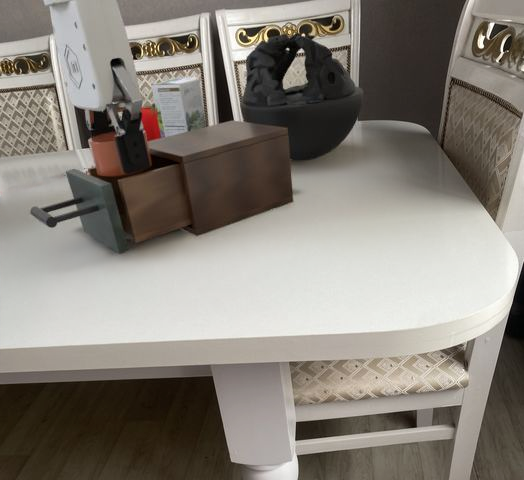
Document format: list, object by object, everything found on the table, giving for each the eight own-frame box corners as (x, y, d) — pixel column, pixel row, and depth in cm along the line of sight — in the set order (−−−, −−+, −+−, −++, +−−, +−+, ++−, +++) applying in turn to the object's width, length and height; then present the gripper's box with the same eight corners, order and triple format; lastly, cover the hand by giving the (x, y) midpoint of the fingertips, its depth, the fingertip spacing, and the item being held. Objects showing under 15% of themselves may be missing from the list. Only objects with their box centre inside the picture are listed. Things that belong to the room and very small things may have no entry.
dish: (110, 182, 59) (101, 145, 57) (89, 173, 64) (79, 139, 61) (162, 167, 62) (155, 132, 60) (138, 160, 67) (130, 127, 64)
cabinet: (197, 236, 65) (182, 156, 60) (151, 215, 74) (134, 144, 69) (293, 201, 72) (287, 127, 67) (241, 186, 81) (232, 120, 76)
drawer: (68, 271, 58) (44, 201, 53) (37, 246, 66) (14, 183, 61) (223, 217, 67) (214, 154, 63) (180, 201, 75) (168, 144, 71)
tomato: (120, 168, 100) (106, 109, 95) (161, 152, 108) (150, 98, 102) (166, 171, 94) (154, 109, 88) (206, 155, 102) (197, 96, 96)
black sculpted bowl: (271, 145, 102) (260, 33, 92) (374, 143, 95) (374, 21, 85) (229, 176, 87) (210, 46, 77) (347, 175, 80) (344, 31, 69)
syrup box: (185, 166, 95) (169, 78, 87) (213, 167, 93) (199, 76, 85) (168, 176, 91) (149, 83, 83) (196, 176, 89) (179, 81, 81)
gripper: (17, -4, 57) (68, 164, 67) (72, -23, 45) (125, 186, 55) (83, -11, 61) (122, 150, 70) (150, -30, 48) (187, 168, 58)
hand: (123, 164), depth 62 cm, fingers closed on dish, 6 cm apart
